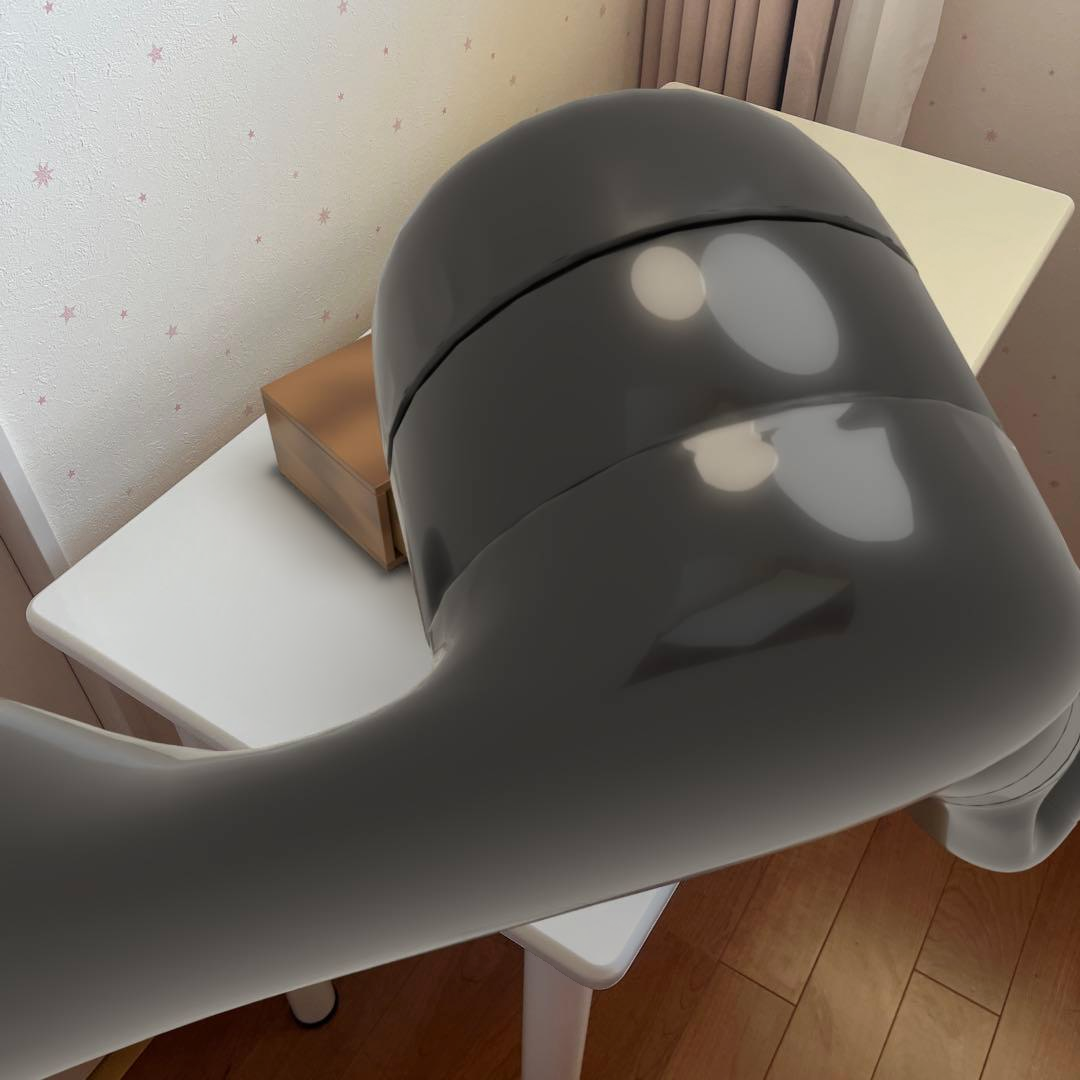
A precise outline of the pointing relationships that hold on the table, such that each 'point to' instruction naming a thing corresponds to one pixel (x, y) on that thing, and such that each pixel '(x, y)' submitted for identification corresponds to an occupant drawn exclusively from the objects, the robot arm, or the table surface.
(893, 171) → the table surface
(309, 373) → the cabinet
